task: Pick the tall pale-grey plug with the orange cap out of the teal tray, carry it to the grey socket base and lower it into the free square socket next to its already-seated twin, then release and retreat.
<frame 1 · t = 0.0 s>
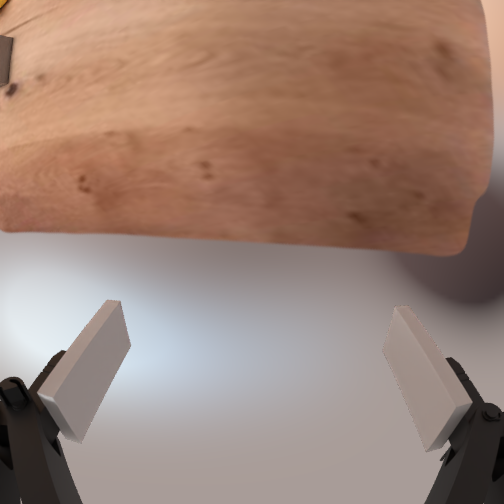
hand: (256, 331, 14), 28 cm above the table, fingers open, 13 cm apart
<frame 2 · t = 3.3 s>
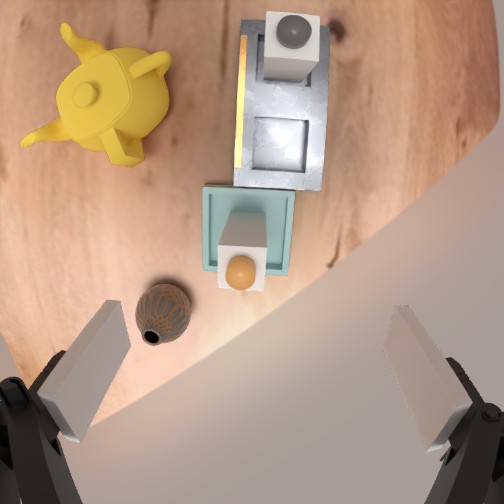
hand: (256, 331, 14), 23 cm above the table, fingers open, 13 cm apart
grey socket base: (280, 104, 31), on the table
teapot: (119, 99, 31), on the table
vase: (170, 298, 41), on the table
tray: (247, 227, 37), on the table
plug: (247, 228, 36), resting on tray
twin plug: (283, 64, 28), resting on grey socket base
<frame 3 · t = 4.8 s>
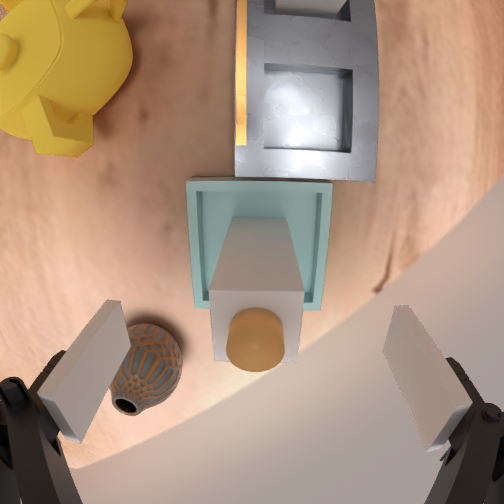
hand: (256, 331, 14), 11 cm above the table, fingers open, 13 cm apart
grey socket base: (302, 53, 19), on the table
teapot: (69, 67, 19), on the table
vase: (155, 339, 29), on the table
tray: (258, 240, 24), on the table
plug: (258, 242, 24), resting on tray
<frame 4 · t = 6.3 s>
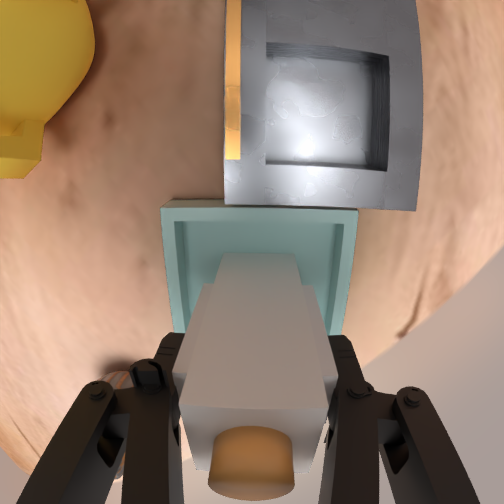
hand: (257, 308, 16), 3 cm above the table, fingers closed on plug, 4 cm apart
grey socket base: (316, 35, 13), on the table
teapot: (27, 64, 14), on the table
vase: (137, 386, 23), on the table
tray: (258, 281, 19), on the table
plug: (258, 284, 18), resting on tray, touching gripper
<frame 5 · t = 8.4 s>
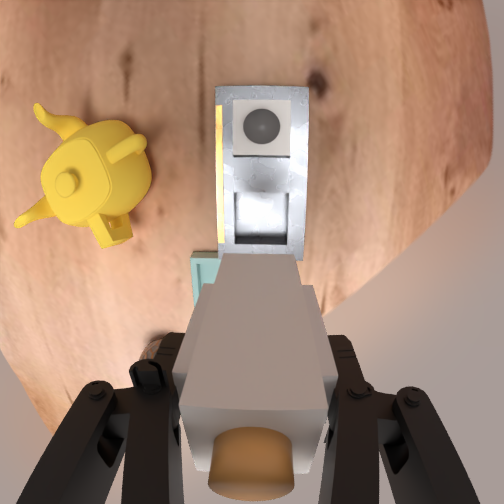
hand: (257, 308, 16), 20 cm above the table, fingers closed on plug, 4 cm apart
grey socket base: (261, 171, 33), on the table
teapot: (104, 168, 34), on the table
vase: (170, 349, 43), on the table
tray: (236, 289, 38), on the table
plug: (258, 285, 18), point 18 cm above the table, touching gripper
twin plug: (261, 130, 31), resting on grey socket base
when the fingers open (4 cm above the table, at t = 10.7 s): plug stays where it is, resting on grey socket base.
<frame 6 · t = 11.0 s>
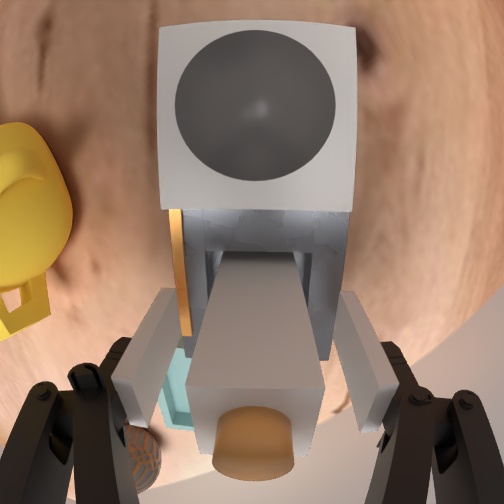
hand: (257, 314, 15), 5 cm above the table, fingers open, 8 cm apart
grey socket base: (259, 202, 18), on the table
teapot: (17, 198, 19), on the table
vase: (137, 433, 28), on the table
tray: (219, 380, 24), on the table
plug: (257, 279, 19), point 1 cm above the table, touching grey socket base
twin plug: (260, 126, 16), resting on grey socket base
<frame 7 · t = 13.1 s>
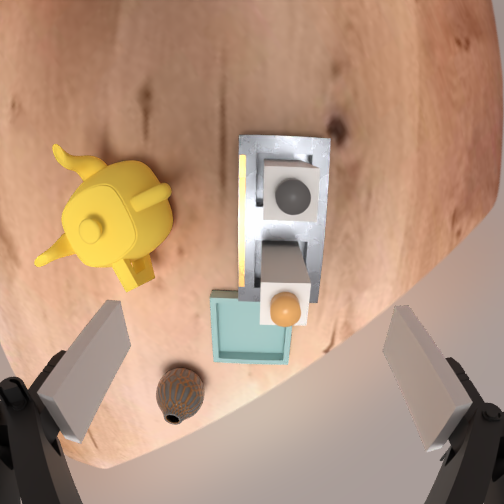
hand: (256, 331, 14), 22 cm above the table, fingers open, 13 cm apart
grey socket base: (280, 216, 35), on the table
teapot: (123, 206, 35), on the table
vase: (185, 376, 44), on the table
tray: (251, 325, 40), on the table
plug: (278, 257, 36), point 1 cm above the table, touching grey socket base
twin plug: (282, 178, 32), resting on grey socket base
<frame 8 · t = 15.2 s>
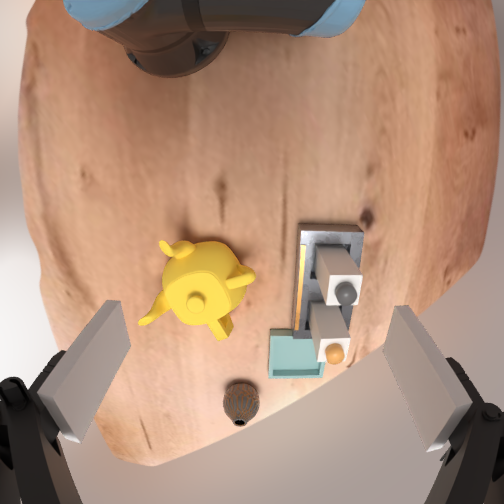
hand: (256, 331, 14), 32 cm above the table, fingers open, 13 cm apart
grey socket base: (323, 279, 48), on the table
teapot: (202, 271, 48), on the table
vase: (242, 388, 58), on the table
tray: (297, 351, 53), on the table
plug: (321, 307, 49), point 1 cm above the table, touching grey socket base
twin plug: (327, 255, 45), resting on grey socket base
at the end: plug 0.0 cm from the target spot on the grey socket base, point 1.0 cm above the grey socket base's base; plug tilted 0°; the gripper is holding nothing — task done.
